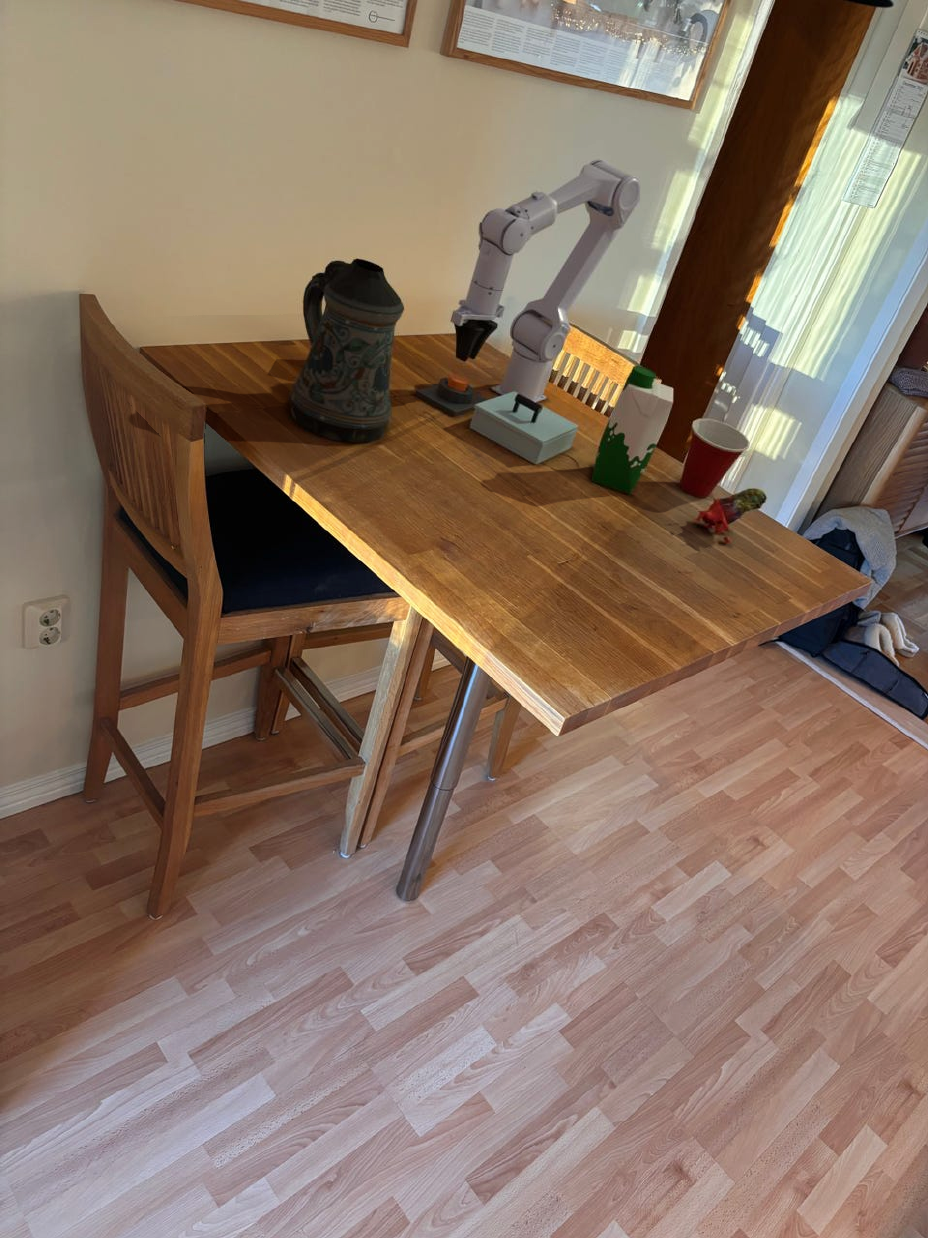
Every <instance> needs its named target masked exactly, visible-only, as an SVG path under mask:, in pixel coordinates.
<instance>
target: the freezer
mask: <svg viewBox="0 0 928 1238" xmlns="http://www.w3.org/2000/svg"><path fill="white" fill-rule="evenodd" d="M469 428H470V429H472V430H473V431H475V432H477V433H479V434H480V435H482V436H484V437H485V438H487V439H489V440H491V441H492V442H495V443H497V444H498V445H500V446H502V447H503V448H504V449H507V450H508V451H511V452H512V453H514V454H516V455H518V456H520V457H521V458H523V459H525V460H526V461H528V462H530V463H532V464H534V465H535V466H536V465H539V464H541V463H543V462H545V461H546V460H550V459H551V458H553V457H555V456H557V455H559V454H561V453H564V452H565V451H569V450H570V449H571V448H572V445H573V443H574V440H575V437H576V435H577V432H578V429H577V430H574V431H572V432H570V433H568V434H565V435H563V436H561V437H559V438H557V439H554V440H552V441H550V442H548V443H545V444H543V445H541V444H539V443H537V442H535V441H533V440H531V439H530V438H528V437H526V436H524V435H522V434H521V433H519V432H517V431H515V430H513V429H511V428H510V427H508V426H506V425H504V424H502V423H501V422H499V421H497V420H495V419H493V418H491V417H490V416H488V415H486V414H484V413H482V412H480V411H479V410H477V409H475V410H473V415H472V418H471V421H470V424H469Z"/></svg>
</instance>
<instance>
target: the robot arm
mask: <svg viewBox="0 0 928 1238" xmlns="http://www.w3.org/2000/svg"><path fill="white" fill-rule="evenodd" d="M640 201H641V182H640V178H638V177H637V176H636V175H633V174H628V173H627V172H624V171H622V170H620V169H618V168H616V167H614V166H612V165H610V164H608V163H606V162H604V161H603V159H594V160H591V161H590V163H587V164H584V165H583V166H582V168H581V170H580V172H579V174H578V175H577V176H576V177H574V178H572V179H571V180H569V181H568V182H566V183H565V184H563V185H562V186H560V187H558V188H556V189H555V190H553V191H552V192H550V193H548V194H547V193H545V192H543V191H537V190H536V191H534V192H532V193H530V196H529V197H526V198H524V199H522V200H520V201H519V202H517V203H513V204H512V205H510V206H509V207H507V208H506V209H503V208H500V207H498V208H494V209H490V211H488V212H487V213H486V214H485V215H484V216H483V218H482V220H481V221H480V222H479V224H478V236H479V243H478V245H477V247H478V255H477V259H476V262H475V266H474V269H473V273H472V277H471V279H470V283H469V287H468V290H467V294H466V296H465V299H459V301H458V305H459V307H458V308H457V309H455V310H453V311H452V314H451V317H450V321H449V322H450V323H452V324H453V325H454V329H455V330H454V331H455V358H456V359H458V360H460V361H461V362H464V363H465V362H467V361H468V360H469V359H471V360H475V359H476V358H477V356H478V355H479V353H480V351H481V349H482V347H483V346H484V344H485V343H486V341H487V340H488V338H489V337H490V336H492V334H493V333H494V332H495V331H496V330H497V329H498V326H499V324H498V322H496V321H494V320H496V318H498V319H499V318H503V315H504V312H505V308H506V307H505V306H503V305H501V304H500V301H501V297H502V294H503V291H504V288H505V284H506V281H507V278H508V275H509V272H510V268H511V265H512V262H513V259H514V256H515V254H518V253H520V252H521V251H522V249H524V247H525V245H526V244H527V242H528V241H530V239H531V238H532V237H533V236H534V235H537V234H538V233H540V232H542V231H544V230H545V229H548V228H550V227H552V226H553V225H554V223H555V222H556V219H557V216H558V215H559V214H562V213H565V212H567V211H569V210H572V209H574V208H576V207H578V206H581V205H582V204H584V206H585V210H586V211H587V214H588V215H589V224H588V225H587V226H586V228H585V230H584V232H583V233H582V235H581V236H580V238H579V239H578V241H577V242H576V244H575V246H574V247H573V249H572V251H571V252H570V253H569V256H568V257H567V259H566V260H565V262H564V263H563V265H562V266H561V268H560V269H559V272H558V273H557V275H556V276H555V277H554V279H553V281H552V282H551V284H550V286H549V288H548V289H547V290H546V293H545V294H544V295H543V297H542V298H539V299H535V300H531V301H528V302H527V304H526V305H525V307H524V308H523V309H522V311H520V312H519V313H518V314H517V315H516V316H515V317H514V319H512V322H511V325H510V328H509V336H510V338H511V340H512V341H511V347H513V348H512V351H511V355H510V357H509V360H508V364H507V366H506V369H505V372H504V374H503V379H502V381H501V384H498V385H495V386H492V387H491V390H492V391H493V392H495V393H496V394H499V396H502V395H505V394H508V393H511V392H514V391H515V392H517V393H519V394H521V395H523V396H525V397H527V398H528V399H530V400H532V401H534V402H536V403H538V402H542V401H544V400H547V396H546V395H544V393H545V390H546V388H547V384H548V382H549V379H550V376H551V373H552V371H553V360H554V359H555V358H557V357H558V356H559V355H560V354H561V353H562V351H563V349H564V347H565V343H566V339H567V337H568V335H569V334H570V332H571V330H572V329H571V325H570V321H569V318H568V315H567V314H568V312H569V311H570V309H571V308H572V306H573V304H574V303H575V301H576V300H577V298H578V297H579V295H580V293H581V292H582V290H583V289H584V287H585V286H586V284H587V283H588V281H589V279H590V277H591V276H592V274H593V273H594V271H595V270H596V268H597V266H598V265H599V264H600V262H601V260H602V259H603V257H604V256H605V254H606V252H607V251H608V250H609V247H610V246H611V244H612V243H613V241H614V240H615V238H616V236H617V235H618V234H619V232H620V230H621V229H623V228H624V226H625V224H626V223H627V222H628V219H629V218H630V217H631V215H632V213H633V212H634V210H635V209H636V207H637V206H638V204H639V203H640ZM547 321H548V322H547ZM549 322H550V323H549Z"/></svg>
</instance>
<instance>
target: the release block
mask: <svg viewBox="0 0 928 1238" xmlns="http://www.w3.org/2000/svg"><path fill="white" fill-rule="evenodd" d="M448 379H449V377H443V378H440V379H439V381H438V384H434V385H431V386H428V387H427V386H426V387H424V388H420V389H416V391H415V397H418V398H419V399H421V400H423V401H424V402H426V403H428V404H429V405H432V406H434V407H436V408H437V409H439V410H441V411H443V412H444V413H446V414H448V415H450V416H451V417H454V418H455V417H456V418H457V417H459V416H462V415H464V414H467V413H470V412H474V411H475V408H474V406H475V404H478V403H481V402H484V401H487V400H488V399H487V398H486V397H484V396H482V395H480V394H478V393H476V392H474V391H475V390H474V388H473V387H472V386H471V384H469V383H468V384H467V388H466V391H458V390H455V389H452V388H450V387H449V386H448V385H447V383H448Z"/></svg>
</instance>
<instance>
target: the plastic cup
mask: <svg viewBox="0 0 928 1238" xmlns="http://www.w3.org/2000/svg"><path fill="white" fill-rule="evenodd" d="M691 429H692V434H691V439H690V444H689V447H688V452H687V455H686V458H685V462H684V465H683V470H682V474H681V476H680V481H679V482H680V483H679V487H680V488H681V489H682V490H683V491H685V493H688V494H689V495H691V496H694V497H697V498H701V499H702V498H703V499H705V498H708V497H709V496H710V495H711V494H712V493H713V491H714V490H715V488H717V486H718V484H719V483H720V482H721V481H722V480H723V478H724V477H725V476H726V474H727V473H728V472H729V470H730V469H731V468H732V466H733V465H734V463H735V462H736V461H737V460H738V459H739V458H740V456H741V455H742V454H743V453H744V452H746V451H747V450H748V449H749V448H750V445H751V443H750V440H749V439H748V437H747V436H746V435H745V434H744V433H743V432H741V431H740V430H739V429H737V428H735V427H733V426H732V425H730V424H728V423H725V422H723V421H720V420H717V419H711V418H697V419H695V420H693V422H692V424H691Z"/></svg>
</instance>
